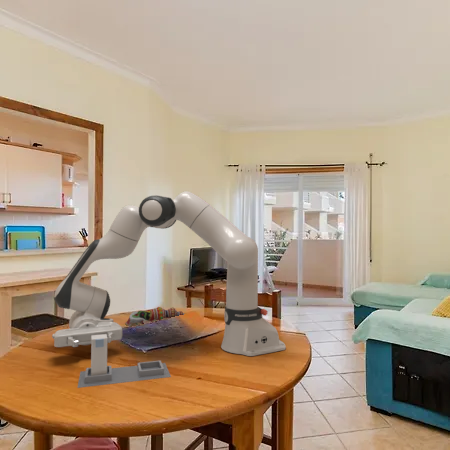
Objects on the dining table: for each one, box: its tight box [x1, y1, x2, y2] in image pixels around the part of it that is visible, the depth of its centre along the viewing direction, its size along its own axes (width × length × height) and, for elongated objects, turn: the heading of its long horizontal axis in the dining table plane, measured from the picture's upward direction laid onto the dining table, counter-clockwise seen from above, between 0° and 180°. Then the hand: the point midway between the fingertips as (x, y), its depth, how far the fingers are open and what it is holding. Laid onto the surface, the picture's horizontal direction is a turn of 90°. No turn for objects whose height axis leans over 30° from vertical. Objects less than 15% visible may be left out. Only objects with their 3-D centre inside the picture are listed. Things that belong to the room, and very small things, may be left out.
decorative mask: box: [124, 306, 186, 327], centre depth 160 cm, size 24×8×30 cm
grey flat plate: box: [77, 360, 172, 389], centre depth 102 cm, size 24×11×2 cm, turn 108°
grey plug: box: [90, 334, 108, 376], centre depth 100 cm, size 4×5×11 cm
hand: (92, 342), depth 109 cm, fingers open, 8 cm apart
